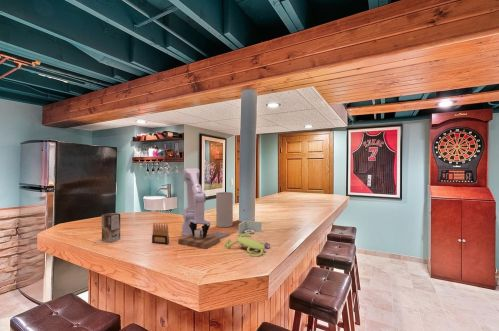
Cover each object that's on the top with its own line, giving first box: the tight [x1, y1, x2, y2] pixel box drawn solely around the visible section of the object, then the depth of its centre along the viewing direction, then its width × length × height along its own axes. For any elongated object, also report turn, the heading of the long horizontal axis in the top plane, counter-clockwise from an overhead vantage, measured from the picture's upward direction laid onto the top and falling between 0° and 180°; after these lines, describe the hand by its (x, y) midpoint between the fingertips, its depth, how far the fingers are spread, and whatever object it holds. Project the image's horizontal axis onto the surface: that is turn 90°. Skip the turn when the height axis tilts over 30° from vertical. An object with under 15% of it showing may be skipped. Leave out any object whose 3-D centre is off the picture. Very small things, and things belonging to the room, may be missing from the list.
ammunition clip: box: [151, 222, 170, 246], centre depth 143 cm, size 11×2×12 cm, turn 74°
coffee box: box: [101, 212, 121, 243], centre depth 150 cm, size 9×6×16 cm
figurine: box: [224, 233, 271, 258], centre depth 136 cm, size 18×27×6 cm
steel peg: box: [195, 227, 203, 240], centre depth 144 cm, size 4×4×8 cm
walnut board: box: [177, 234, 221, 250], centre depth 144 cm, size 20×14×3 cm
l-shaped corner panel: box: [238, 220, 262, 235], centre depth 165 cm, size 12×12×8 cm
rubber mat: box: [210, 231, 230, 240], centre depth 160 cm, size 10×10×1 cm
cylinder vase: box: [215, 191, 234, 228], centre depth 186 cm, size 12×12×25 cm
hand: (199, 236), depth 144 cm, fingers open, 7 cm apart
